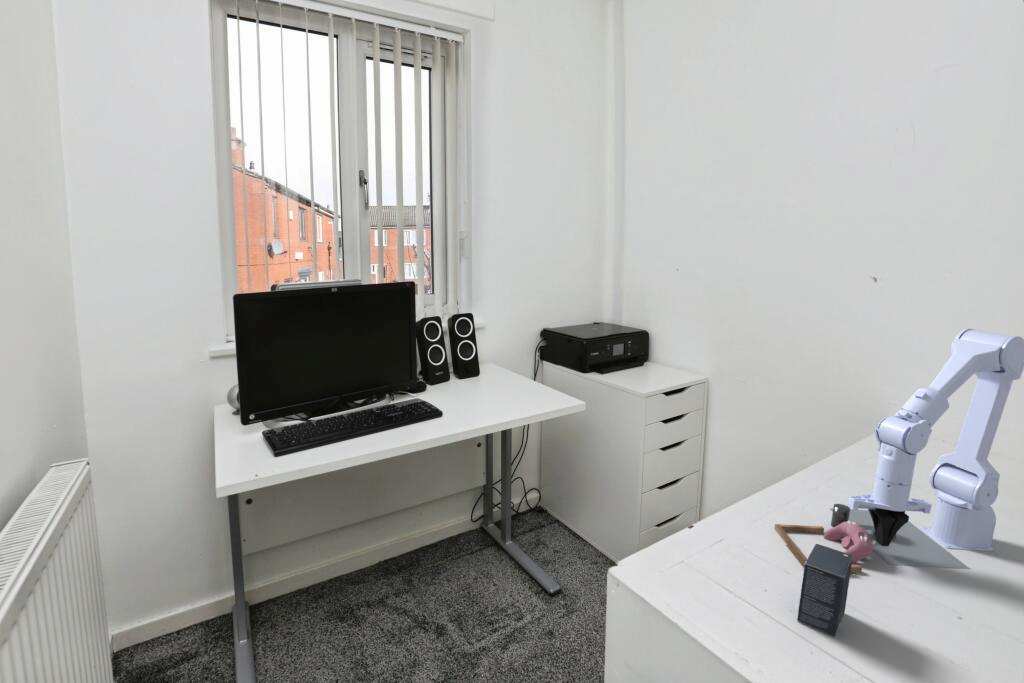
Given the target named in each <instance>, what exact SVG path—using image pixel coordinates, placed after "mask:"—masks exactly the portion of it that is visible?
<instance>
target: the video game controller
mask: <svg viewBox="0 0 1024 683" xmlns="http://www.w3.org/2000/svg"><path fill="white" fill-rule="evenodd" d="M823 539H825V540H829V541H834V542H835V541H839V540H841V547H842V548H844V549H845V551H843V552H844V553H847V554H850V555H852V556H853V558H852V564H855V563H857V562H859V561H861V560H863V559H864V558H867V557H869V556H870V555H871V554H872V552H873V551H874V550H873V543H872V542H871V541H870V537H869V535H868V533H867V531H866V530H865V529H864V528H863V527H861V526H860V525H858V524H856V523H854V522H850V521H847V522H843V523H841V524H839V525H838V526H836V527H831V528H829V529H827V530H826V531H824V534H823Z"/></svg>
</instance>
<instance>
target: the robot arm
mask: <svg viewBox="0 0 1024 683" xmlns="http://www.w3.org/2000/svg"><path fill="white" fill-rule="evenodd" d="M950 347H951V348H950V357H949V359H948V360H947V361H946V363H945V364H944V366H943V367H942V369H941V370H940V371H939V372H938V374H937V375H936V377H934V379H933V381H932V382H931V383H930V384H929V386H928V387H922V388H918V389H917V390H916V391H915V392H914V393H913V394H912V395H911V396H910V397H909V399H908V400H907V401H905V403H904V404H903V405H902V406H901V407H900V409H899V410H898V411H897V412H896V413H895V414H894V415H890V416H886V417H883V418H882V419H880V421H879V422H878V425H877V427H876V428H875V429H874V430H875V431H874V435H875V438H876V441H877V445H876V449H877V451H878V452H879V454H878V460H877V465H876V470H875V471H876V472H875V478H874V484H873V489H872V493H867V494H862V495H848V500H847V506H848V507H849V508H850V509H852V510H863V509H864V510H869V512H870V515H871V517H872V520H873V524H874V529H875V536H876V541H877V542H878V543H879V544H880V545H881V546H889V545H890V543H891V541H892V539H893V537H894V536H895V534H896V533H897V531H898V530H899V529H900V528H901V527H902V526H903V525H904V524H905V523H907V522H908V521H909V519H910V516H909V515H908V514H907V513H906V512H918V513H919V512H921V513H923V514H929V515H930V514H931V511H932V509H931V508H932V503H930V502H929V501H928V500H925V499H919V498H914V497H910V496H911V495H910V493H911V488H912V482H913V477H914V473H915V472H914V471H915V467H916V461H917V455H918V453H920V452H921V451H923V449H925V448H926V446H927V444H928V442H929V438H930V436H931V434H932V431H933V429H932V427H933V426H934V425H935V424H936V423H937V422H938V421H939V420H940V418H942V416H943V415H944V414H945V413H946V412H947V411H948V409H949V408H950V403H949V401H948V399H949V398H950V397H951V396H952V395H953V394H954V393H955V392H956V391H957V390H959V388H961V387H962V386H963V385H964V384H966V382H967V381H968V380H969V379H971V378H972V376H973V375H975V376H976V378H977V380H976V384H975V388H974V391H973V393H972V397H971V400H970V404H969V406H968V410H967V413H966V416H965V419H964V422H963V425H962V428H961V431H960V434H959V438H958V440H957V443H956V447H955V450H954V451H953V452H949V453H945V454H943V455H940V456H939V458H938V461H937V462H936V464H935V466H934V467H933V468H932V470H931V472H930V475H929V483H930V487H931V488H933V489H934V495H935V496H937V499H936V504H935V509H934V514H933V519H932V524H931V527H926V526H924V527H923V526H920V530H921V531H922V532H923V533H925V534H926V535H927V536H929V537H930V538H931V539H932V540H934V541H935V542H936V543H938V544H939V545H940V546H941V547H943V548H944V549H946V550H965V551H966V550H967V551H968V550H969V551H981V552H982V551H984V552H986V551H987V552H994V548H993V547H991V546H992V542H993V537H994V533H995V528H996V524H997V516H996V513H995V511H994V508H993V507H992V505H993V504H994V503H995V502H996V501H997V499H998V495H999V483H1000V482H999V481H1000V477H1001V474H1000V473H999V472H998V471H997V469H996V468H995V467H994V466H993V465H992V464H991V462H989V460H988V458H989V455H990V452H991V449H992V446H993V443H994V440H995V436H996V434H997V431H998V427H999V425H1000V421H1001V420H1002V419H1001V418H1002V415H1003V413H1004V410H1005V406H1006V403H1007V401H1008V398H1009V394H1010V391H1011V389H1012V385H1013V383H1014V381H1017V380H1020V379H1021V377H1022V374H1023V372H1024V338H1023V337H1021V336H1018V335H1008V334H999V333H994V332H988V331H982V330H976V329H973V328H964V329H962V330H961V331H960V332H958V334H956V335H955V338H954V340H953V341H952V342H951V346H950Z"/></svg>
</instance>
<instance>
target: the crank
mask: <svg viewBox="0 0 1024 683" xmlns="http://www.w3.org/2000/svg"><path fill="white" fill-rule="evenodd" d="M832 509H833V512H832V515H831V516H832V517H831V521H830V526H831V528H833V527H836V526H838V525H839V524H841V523H843V522H847V521H850V522H854V523H856V524H858V525H860V526H861V527H863V528H864V529H865V530H871V532H872V533H873V534H874V535H875V529H874V524H873V522H869V521H856V520H849V515H850V509H851V508H850V507H849V506H848V505H846V504H843V503H835V504H833V507H832ZM896 536H897V533H896V534H895V536H894V537H893V539H896ZM893 539H892V540H893Z"/></svg>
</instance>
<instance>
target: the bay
mask: <svg viewBox="0 0 1024 683" xmlns="http://www.w3.org/2000/svg"><path fill="white" fill-rule="evenodd" d="M774 531H775V532H776V533H777V535H779V536H780V538H781V539H782V540H783V542H784V543H785V546H786V547H787V549H788V550H789V551H790V553H791V554H792V555H793V556H794V558H795V559H796V560H797V562H798V563H800V566H802V568H803V569H804V566H805V562H806V561H807V559H808V558H807V557H806V555H805V554H804V552H803V551H802V550H801V549H800V548H799V547H798V546H797V544H796V543H795V542H794V541H793V540H792V539H791V537H790V536H789V535H788V534H787V533H806V534H823V535H824V533H825V527H824V526H822V525H821V526H816V525H800V524H799V525H797V524H780V523H779V524H778V523H774ZM862 569H863V567H862V565H860V564H852V566H851V572H850V575H856V576H857V575H858V574H861V573H862Z"/></svg>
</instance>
